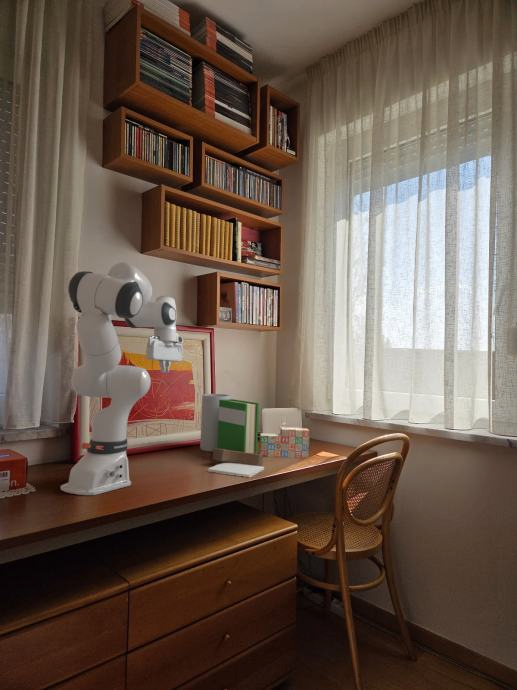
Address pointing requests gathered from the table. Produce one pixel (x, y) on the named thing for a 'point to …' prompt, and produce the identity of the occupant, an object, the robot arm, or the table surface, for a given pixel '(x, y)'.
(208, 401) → the cylinder vase
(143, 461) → the table surface
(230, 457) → the wooden block
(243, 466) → the white flat panel
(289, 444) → the stack of blocks
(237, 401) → the hardback book
